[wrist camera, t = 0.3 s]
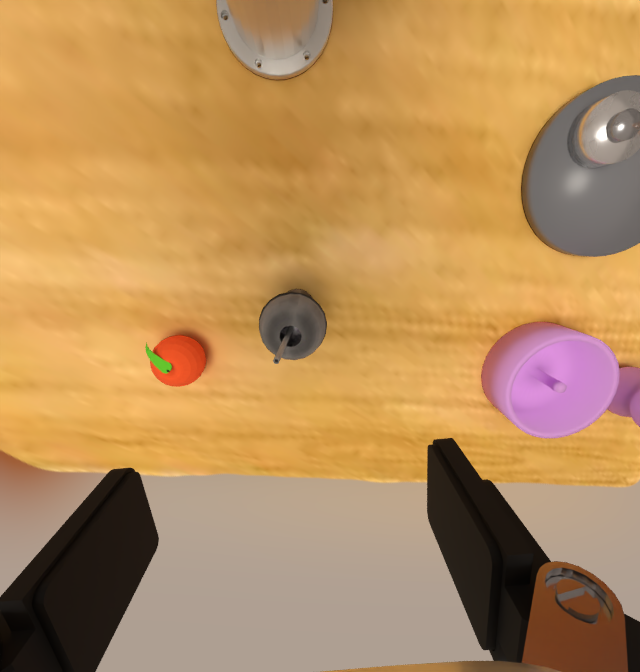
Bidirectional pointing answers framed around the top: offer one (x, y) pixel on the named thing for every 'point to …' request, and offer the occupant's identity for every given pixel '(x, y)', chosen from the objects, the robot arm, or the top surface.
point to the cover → (606, 131)
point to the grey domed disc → (582, 187)
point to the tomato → (177, 360)
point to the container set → (557, 380)
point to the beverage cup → (292, 325)
